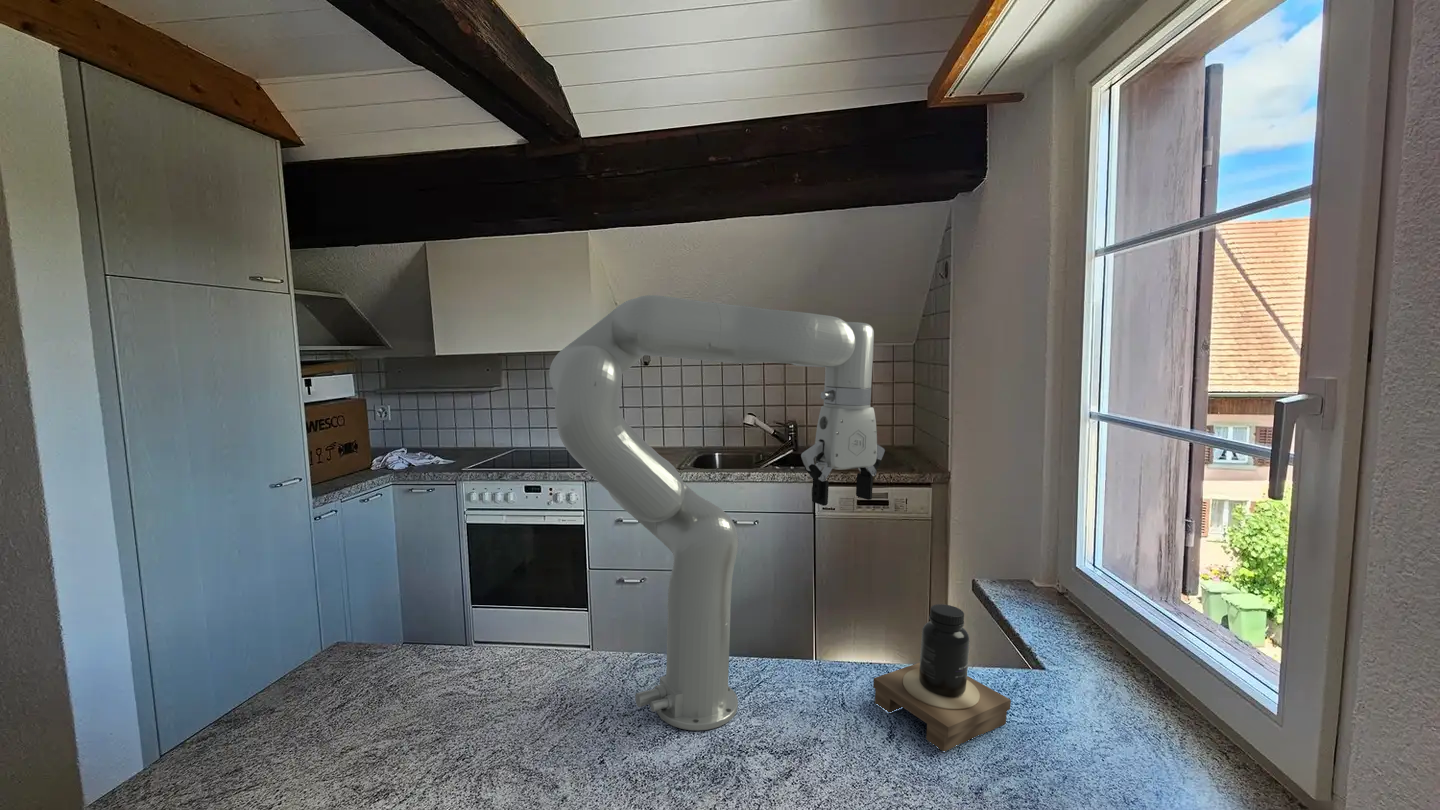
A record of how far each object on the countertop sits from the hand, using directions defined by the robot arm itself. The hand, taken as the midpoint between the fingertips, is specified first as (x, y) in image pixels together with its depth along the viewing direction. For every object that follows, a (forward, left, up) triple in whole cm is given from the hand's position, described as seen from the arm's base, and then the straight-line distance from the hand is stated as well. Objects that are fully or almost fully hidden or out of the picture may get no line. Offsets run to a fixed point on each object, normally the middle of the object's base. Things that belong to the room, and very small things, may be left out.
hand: (842, 500), depth 99 cm
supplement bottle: (+7, -16, -26) cm, 32 cm away
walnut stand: (+7, -16, -30) cm, 35 cm away
